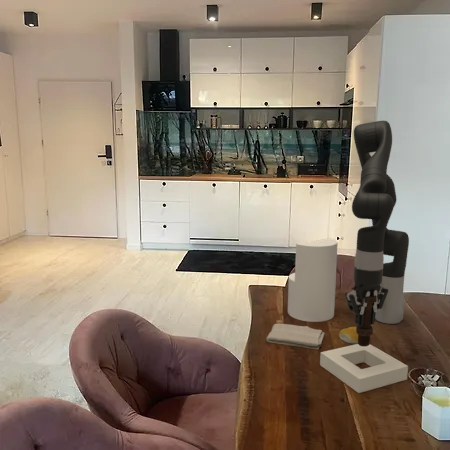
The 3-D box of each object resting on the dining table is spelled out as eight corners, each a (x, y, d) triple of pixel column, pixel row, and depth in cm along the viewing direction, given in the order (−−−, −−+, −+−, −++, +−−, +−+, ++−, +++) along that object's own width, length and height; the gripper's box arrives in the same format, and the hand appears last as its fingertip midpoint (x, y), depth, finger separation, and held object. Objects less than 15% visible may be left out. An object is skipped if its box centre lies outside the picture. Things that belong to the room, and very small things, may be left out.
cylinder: (343, 315, 180) (347, 242, 174) (310, 325, 170) (313, 248, 165) (311, 301, 194) (313, 234, 188) (278, 310, 184) (280, 239, 179)
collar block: (365, 354, 148) (366, 341, 148) (407, 379, 133) (408, 366, 132) (320, 365, 141) (320, 352, 140) (358, 393, 126) (359, 379, 125)
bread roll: (372, 340, 159) (372, 328, 158) (353, 346, 154) (354, 335, 153) (352, 331, 166) (353, 320, 165) (334, 337, 161) (335, 326, 160)
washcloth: (320, 351, 151) (321, 342, 150) (265, 344, 156) (265, 335, 156) (325, 336, 162) (325, 328, 161) (273, 329, 167) (273, 321, 167)
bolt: (373, 350, 132) (377, 298, 130) (354, 348, 133) (358, 297, 131) (371, 341, 138) (375, 291, 135) (353, 339, 139) (356, 290, 136)
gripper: (379, 259, 138) (375, 316, 141) (339, 264, 132) (336, 324, 135) (398, 266, 131) (393, 325, 134) (357, 272, 125) (353, 334, 128)
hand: (364, 324), depth 135 cm, fingers closed on bolt, 3 cm apart
